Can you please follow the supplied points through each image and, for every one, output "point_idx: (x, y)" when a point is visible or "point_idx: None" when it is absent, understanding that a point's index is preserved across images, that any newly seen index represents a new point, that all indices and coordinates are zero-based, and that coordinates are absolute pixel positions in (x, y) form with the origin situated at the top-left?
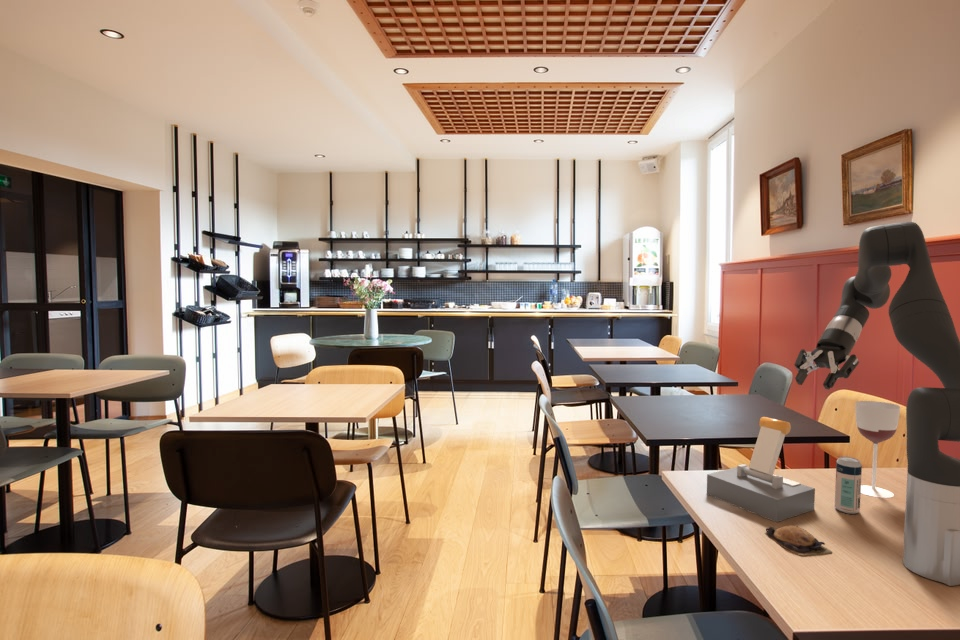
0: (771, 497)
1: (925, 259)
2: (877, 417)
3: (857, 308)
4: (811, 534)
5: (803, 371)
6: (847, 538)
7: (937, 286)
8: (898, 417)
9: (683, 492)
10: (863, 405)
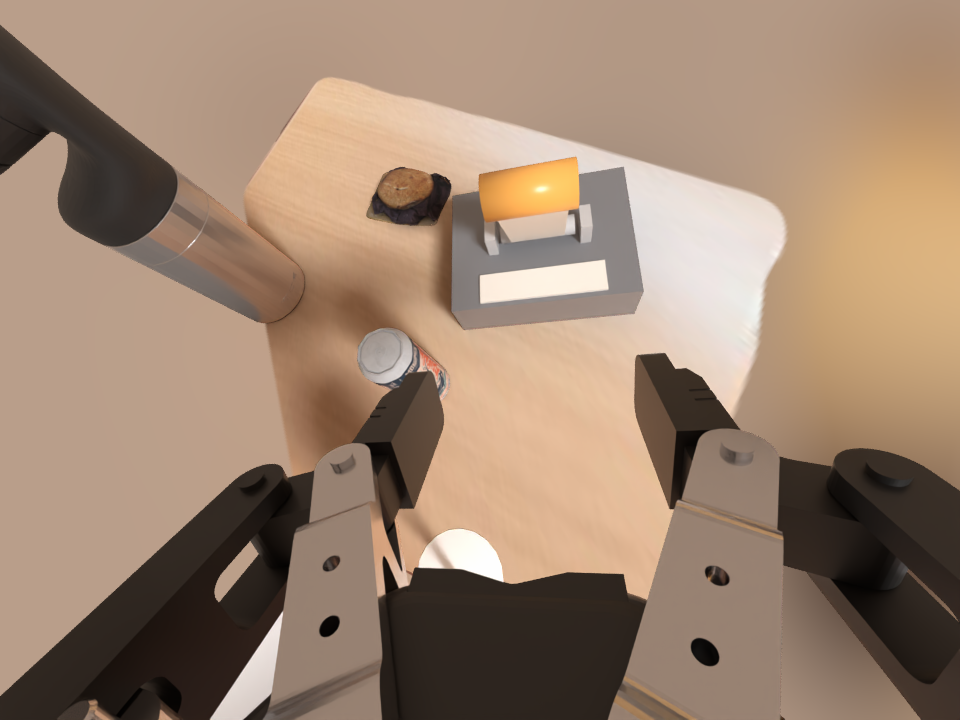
0: (465, 194)
1: None
2: None
3: None
4: (385, 197)
5: (668, 415)
6: (375, 276)
7: None
8: (255, 703)
9: (645, 166)
10: None
